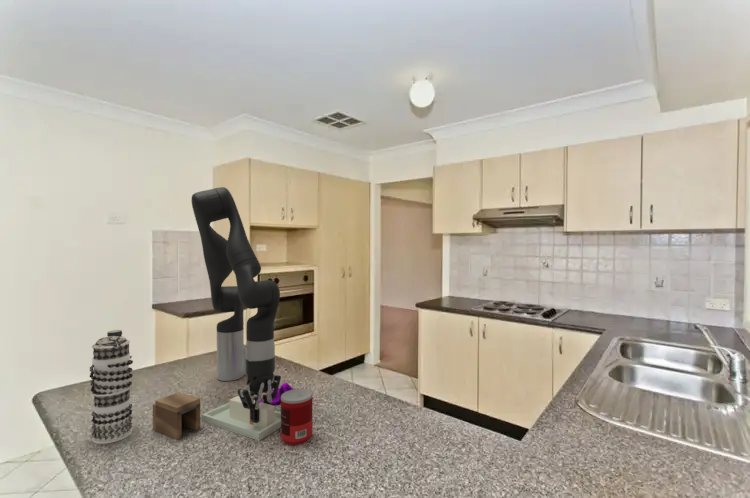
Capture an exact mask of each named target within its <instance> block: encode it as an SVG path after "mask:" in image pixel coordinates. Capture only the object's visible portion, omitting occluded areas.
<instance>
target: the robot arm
mask: <svg viewBox="0 0 750 498" xmlns="http://www.w3.org/2000/svg"><path fill="white" fill-rule="evenodd" d="M191 207H192V211H193V215H194V217H195V221H196V225H197V228H198V232H199V236H200V240H201V241H200V242H201V246H202V251H203V254H202V255H203V258H204V263H205V268H206V271H207V276H208V281H209V288H210V297H211V299H210V300H211V305H212V308H213V310H214V311H215V312H220V313H228V312H229V313H231V312H233V315H232V316H230V317H229V318H227V319H224V320H221V321H219V322H217V324H216V379H217V380H218V381H220V382H229V381H230V382H231V381H236V380H239V379H241V378H244V376H245V375H246V377H247V380H246V383H245V384H246V385H245V386H244V387H242V388H239V389H238V390H237V394H238V396H239V397H240V399H241V402H242V404H243V407H244V408H247V409H250V419H251V421H252V422H254V423H258V422H259V402H260V400H261V398H262V401H264V402H262V403H266V404H269V405H271V401H272V399H273V398H276V396H277V392H278V388H280V383H281V379H282V376H281V375H279V374H278V375H277V374H274V372H275V370H276V352H275V351H276V350H275V349H276V346H275V345H276V344H275V338H274V337H275V332H274V331H275V327H274V326H275V325H274V324H275V319H276V316H277V312H278V308H279V304H280V299H281V292H280V291H281V290H280V288H279V286H278V284H277V283H276V281H273V280H268V279H267V280H266V279H265V280H258V281H256V280H255V279H254V278H256V277H257V276H259V275H260V273H261V271H262V267H261V266H262V265H261V264H260V262H259V259H258V258H257V256H256V253H255V252H254V250H253V248H252V246H251V243H250V241H249V239H248V236H247V234H246V230H245V228H244V223H243V221H242V218H241V216H240V213H239V210H238V207H237V205H236V202H235V200H234V197H233V194H232V193H231V191H230V190H229V189H228V188H226V187H225V186H223V187H222V186H221V187H216V188H211V189H205V190H201V191H198V192H194V193H193V194H192V196H191ZM225 219H228V221H229V232H228V233H229V234H228V237H227V239H226V238H225V237H223V236H222V235H221V234H219V233H218V232H217V231H216V230H215V229H214V228H213V227H212V226H211V223H213V222H214V223H215V222H217V221H221V220H225ZM232 272H233V273H234V275H235V279H236V280H235V282H236V285H235V286H232V285H230V286H229V285H227V286H222V285H223V284H224V282H225V280H226V279H227V278H228V277H229V276H230V275H231V274H232ZM245 308H246V309H249V310H253V309H257V312H256V314H254V315H252V316H251V317H249V318H248V319H247V321H246V327H245V328H246V331H245V332H246V333H245V334H246V343H245V341H244V340H245V339H244V310H245ZM244 343H245V348H244ZM272 390H274V391H273V393H272ZM254 400H255V404H254Z"/></svg>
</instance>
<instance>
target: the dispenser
mask: <svg viewBox="0 0 750 498" xmlns="http://www.w3.org/2000/svg"><path fill="white" fill-rule="evenodd" d="M154 401H155V402H154V403H153V404H152V430H153V431H154V432H158V433H160V434H162V435H165V436H167V437H170V438H172V439H174V440H180V439H181V438H183V437H182V430H183V429H182V426H184V427H186V428H189V429H192V430H194V431H198V430H200V429H201V398H200V397H197V396H194V395H189V394H186V393H184V392H180V391H177V392H175V393H173V394H170V395H167V396H165V397H161V398H159V399H156V400H154Z"/></svg>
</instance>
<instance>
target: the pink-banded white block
mask: <svg viewBox="0 0 750 498" xmlns="http://www.w3.org/2000/svg"><path fill="white" fill-rule="evenodd" d="M229 402H230V418H233V419H236V420H239V421H242V422H245V423H249V424H251V425H255V426H258V427H261V428H266V427H267V426H269V425H271V424H273V423H274V422H275V411H276V406H273V405H269V404H266V403H262V402H259V422H258V423H254V422H252V421H251V419H250V409H247V408H244V407H243V404H242V402H241V399H240V397H239V395H237V396H234V397H233V398H230V399H229ZM254 404H255V400H254Z"/></svg>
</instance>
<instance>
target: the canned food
mask: <svg viewBox="0 0 750 498" xmlns="http://www.w3.org/2000/svg"><path fill="white" fill-rule="evenodd" d="M312 396H313V392H312V391H311V390H309V389H306V388H293V390H289V391H287V392H285V393H283V394H282V395H281V405H280V412H281V428H280V438H281V441H282V442H283V443H284V444H286V445H289V446H297V445H302V444H304V443H307V442H308V441H309V440H310V439H312V435H313V399H312Z"/></svg>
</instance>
